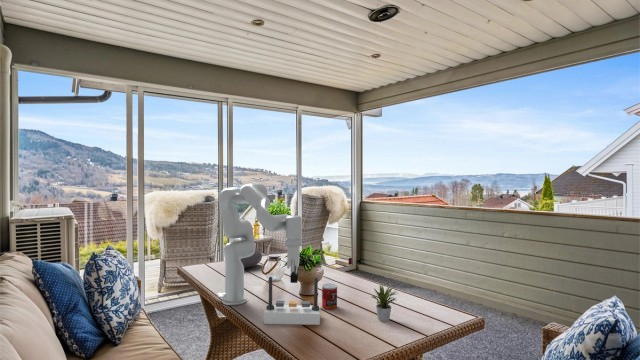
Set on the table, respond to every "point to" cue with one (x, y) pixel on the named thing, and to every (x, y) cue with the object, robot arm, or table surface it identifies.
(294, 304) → the middle button
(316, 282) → the right cord
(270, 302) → the left cord
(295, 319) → the strip
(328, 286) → the canned food
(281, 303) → the left button
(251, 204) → the robot arm
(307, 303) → the right button
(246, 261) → the flattened ellipsoid
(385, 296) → the house plant
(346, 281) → the table surface
